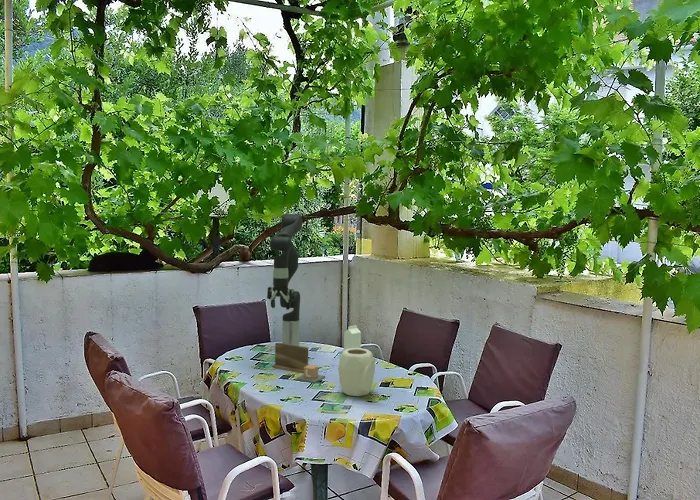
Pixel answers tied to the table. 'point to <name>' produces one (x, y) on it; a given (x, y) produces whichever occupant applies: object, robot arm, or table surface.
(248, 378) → the table surface
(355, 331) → the milk
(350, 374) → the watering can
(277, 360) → the walnut screen
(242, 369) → the table surface
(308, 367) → the letter cube
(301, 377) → the slate pad
